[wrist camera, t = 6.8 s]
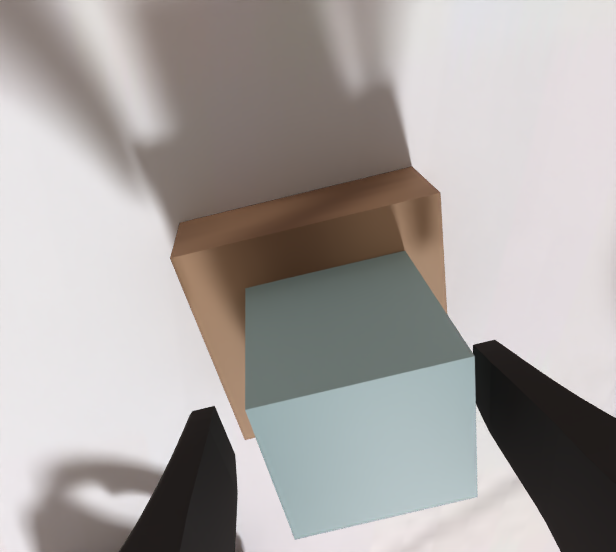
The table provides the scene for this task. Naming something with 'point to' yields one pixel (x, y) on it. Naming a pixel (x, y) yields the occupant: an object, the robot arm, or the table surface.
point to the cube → (359, 394)
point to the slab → (300, 253)
